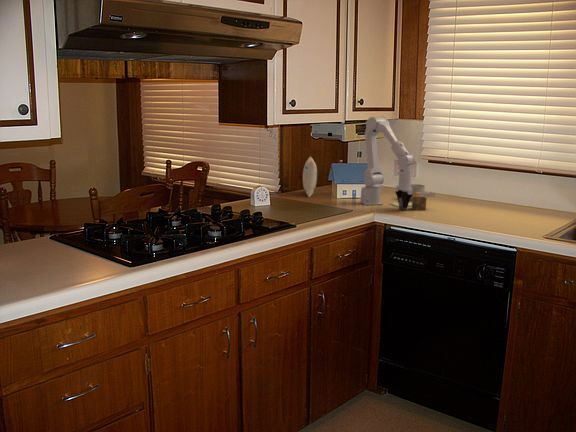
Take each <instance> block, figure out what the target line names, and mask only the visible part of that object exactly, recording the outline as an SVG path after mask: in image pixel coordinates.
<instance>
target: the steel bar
mask: <svg viewBox="0 0 576 432" xmlns="http://www.w3.org/2000/svg"><path fill="white" fill-rule="evenodd" d="M414 197H425V198H435V197H436V192H433V191H425V192H414Z"/></svg>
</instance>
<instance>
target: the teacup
mask: <svg viewBox="0 0 576 432" xmlns="http://www.w3.org/2000/svg"><path fill="white" fill-rule="evenodd" d="M425 187H426V186H425V184H422V183H421V184H419V183H411V185H410V188H412V190H413V196H414V192H426V191H425V189H426V188H425ZM413 196H412V197H411V199H410V201H411V202H412V198H413ZM410 201H409V202H410Z"/></svg>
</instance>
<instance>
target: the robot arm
mask: <svg viewBox="0 0 576 432" xmlns="http://www.w3.org/2000/svg"><path fill="white" fill-rule="evenodd" d="M380 133H382V134H383V136H385V138H386V139H387V141H388V142H389V143H390V145H391V148H390V149H391V150H392V152H393V153H394V155H395V157H396V158H397V165H398V168H399V172H398V173H399V174H398V185H395V190H396V191H395V195H396V197H397V201H398V203H399V198H400V197H402V203H403V208H407V209H408V208H409V207H408V204H409V203H410V199H411V197H412V196H413V190H412V188H410V185H411V184H412V183H411V182H412V169H413V168H412V166H413V165H414V164H415V156H414V155H413V154H412V153H410V152H409V151H408V150H407V149H406V147H405V144H404V143H403V142H402V141H400V140H399V141H398V138H397V136H396V135H395V134H394V132H393V130H392V128H391V126H390V121H388V118H387V117H386V116H370V117H369V118H368V119H367V120H366V121H365V130H364V139H365V141H364V142H365V152H366V162H367V163H366V164H367V169H366V170H365V171H364V172H363V173H364V176H363V183H364V185H365V186H362V187H361V188H360V190H361V191H360V201H359V203H361V204H363V205H365V206H372V205H373V206H375V205H377V206H378V205H382V206H383V203H382V202H381V199H380V198H381V187H382V185H383V184H384V182H385V177H384V175H383V170H382V169H381V168H380V167H379V158H378V156H379V155H378V144H377V143H378V142H377V136H378V135H379V134H380Z"/></svg>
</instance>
